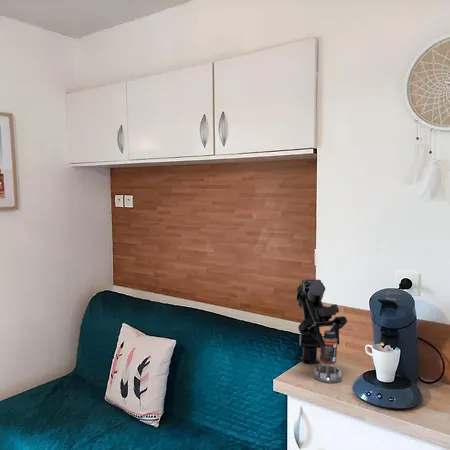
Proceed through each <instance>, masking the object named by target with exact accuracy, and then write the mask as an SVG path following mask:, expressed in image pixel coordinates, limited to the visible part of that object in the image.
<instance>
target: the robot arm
mask: <svg viewBox="0 0 450 450" xmlns="http://www.w3.org/2000/svg"><path fill="white" fill-rule="evenodd" d="M321 280H322V279H315V278H314V279H312V278H311V279H310V278H308V279H307V278H305V279H303V280H301V283H300V285H298V286H297V287H296V293H295V301H297V306H299V307H300V308H301V311H302V312H301V313H302V319H303V320H302V321H301V322H300V323H299V324H298V326H297V327H298V331H299V333H300V334H299V340H298V343H299V347H300V348H302V356H299V357H298V358H299V360H301V361H302V363H304V364H306V365H307V364H320V363H321V361H320V359H318V356H317V355H318V349H321V345H322V346H325V344H324V341H323V338H322V337H323V336H324V335H323V334H322V333H321V329H320V328H321V327H322V328H323V327H324V328H325V327H329V328H330V329H329V331H333V332H335V338H336V339H337V346H339V344H340V330H341V329H343V328H344V327H345V326H346V324H347V323H348V319H347V317H345V316H343V315H341V316H337V314H339V313H340V309H339V306H338V305H337V304H330V306H326V305H324V304H323V301H322V300H323V297H324V293H325V292H326V286H325V285H324V283H323V282H322V281H321ZM333 316H335V318H333ZM332 318H333V319H332ZM331 319H332V320H331Z"/></svg>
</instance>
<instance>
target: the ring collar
mask: <svg viewBox="0 0 450 450" xmlns="http://www.w3.org/2000/svg"><path fill="white" fill-rule="evenodd" d="M313 369H314V371H313V378H314V380H316V381H318V382H320V383H324V384H339V383H341V382H342V380H343V375H342V369H341V368H339V367H336V366H335V365H332V364H328V367H327V364H319V365H316V366H315V367H314V368H313Z"/></svg>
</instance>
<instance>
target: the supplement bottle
mask: <svg viewBox="0 0 450 450" xmlns="http://www.w3.org/2000/svg"><path fill="white" fill-rule="evenodd" d="M322 336H323V337H322V338H323V341H324V344H325V346H322V345H321V348H319V350H320V351H319V353H320V354H319V361H320V363H323V364H324V365H334V364H336V363H337V357H338V356H337V353H338V351H337V350H338V345H337V339H336V338H335V332H333V331H330V330H325V331H324V332H323V335H322Z"/></svg>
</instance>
